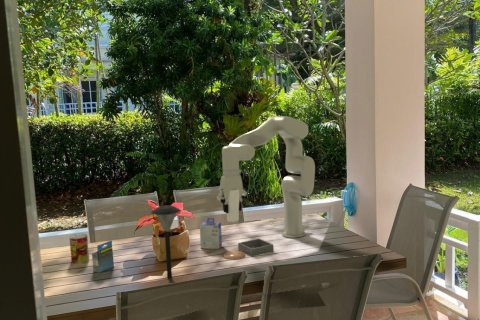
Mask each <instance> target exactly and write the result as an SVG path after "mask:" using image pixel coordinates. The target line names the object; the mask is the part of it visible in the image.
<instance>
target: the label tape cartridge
mask: <svg viewBox="0 0 480 320" xmlns="http://www.w3.org/2000/svg"><path fill="white" fill-rule="evenodd" d="M96 247H97V251H95V252H92V253H91V257H92V260H91V261H92V271H93V273H98V274H100V273H102V272H104V271H106V270H107V271H108V270H109V269H111V268H113V267H115V262H114V254H113V253H114V250H113V240H112V239H111V240H109V241H106V242H104V243H101V244H97V246H96Z"/></svg>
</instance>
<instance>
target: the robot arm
mask: <svg viewBox="0 0 480 320" xmlns="http://www.w3.org/2000/svg"><path fill="white" fill-rule="evenodd" d="M308 134H309V127H308V124H306V122H304V121H302V120H299V119H297V118H294V117H292V116H287V115H285V116H284V115H274V116H271V117H268V119H266V120H265V121H264V122H263V123H261V125H259V126H258V127H257V128H256V129H254V130H251V131H249V132H247V133H244V134H242V135H239V136H238V137H236V138H235V139H234V140H233V141H231V142H229V145H225V146H223V147H222V149H221V155H222V156H221V161H222V176H221V177H220V182H219V183H220V185H219V193H218V194H217V196H216V199H218V201H219V202H220V203H221V204H222V210H223V212H224V213H226V214H227V213H228V204H227V202H228V198H229V194H230V190H237V189H239V211H240V212H241V211H242V209H243V205H242V204H243V201H244V200H245V197H246V196H247V195H248V192H247V191H246V190H245V189H244V188H243V186H244V185H243V180H242V176H241V174H240V173H241V172H242V169H241V168H240V161H250V160H252V159H253V158H254V157H255V154H256V153H255V152H256V151H255V148H254V147H259V146H264V145H266V144H268V143H269V142H270V141H271V140H272V139H273V138H274V137H276V136H277V135H279V136H280V137H281V139H283V141H284V144H285V148H286V150H285V170H286V171H287V172H288V173H291V174H295V175H286V176H284V178H283V179H281V185H280V186H281V191H282V195H283V224H284V229H283V230H282V231H281V236H283V237H285V238H289V239H295V238H296V239H297V238H302V237H304V236H306V231H305V230H308V229H310V225H309V224H308V225H307V224H306V225H304V224H303V202H302V198H301V196H302V197H309V196H311V194H312V193H313V192H314V186H315V175H316V164H315V161H314V159H313V158H312V156H311V157H310V156H309V155H304V154H303V149H304V147H303V143H302V140H303V139H305V138H306V137H308ZM297 174H298V175H300V176H297Z"/></svg>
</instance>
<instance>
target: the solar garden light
mask: <svg viewBox="0 0 480 320" xmlns="http://www.w3.org/2000/svg"><path fill="white" fill-rule="evenodd" d="M180 212H181V209H180V208H178V207H176V206H174V205H169V204H167V205H159V206H157V207H156V208H154V209H153V210H152V211H150V214H152V215H156V217H157V219H158V221H159V223H160V225H161V226H162V229H163V230H164V242H165V245H164V246H165V258H166V262H165V263H166V274H167V275H166V277H167V279H171V278H173V275H172V274H173V273H172V257H171V253H172V252H171V240H170V239H171V237H170V235H171V234H170V231H171V228H172V224H173V222H174V220H175V217H176V215H177V214H178V213H180Z"/></svg>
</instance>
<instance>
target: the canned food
mask: <svg viewBox="0 0 480 320" xmlns="http://www.w3.org/2000/svg"><path fill="white" fill-rule="evenodd" d="M69 247H70V258H71V259H70V261H71V263H72V264H76V265H78V264H86V263H88V262H89V261H90V253H89V251H90V250H89V239H88V234H87V233H76V234H72V235H70V236H69Z"/></svg>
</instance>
